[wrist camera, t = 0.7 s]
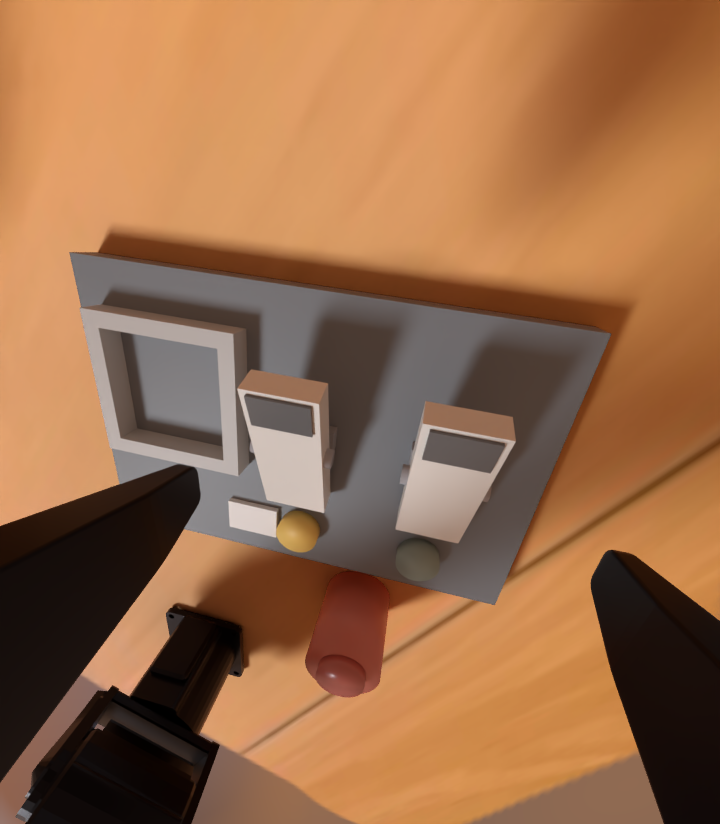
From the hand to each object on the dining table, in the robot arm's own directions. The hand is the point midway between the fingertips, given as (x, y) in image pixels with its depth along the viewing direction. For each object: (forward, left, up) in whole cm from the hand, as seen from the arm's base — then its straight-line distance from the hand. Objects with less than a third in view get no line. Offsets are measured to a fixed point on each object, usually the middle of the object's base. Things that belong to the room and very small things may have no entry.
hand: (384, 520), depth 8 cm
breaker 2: (-4, -2, -7) cm, 8 cm away
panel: (-5, +5, -11) cm, 13 cm away
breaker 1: (-4, +5, -7) cm, 9 cm away
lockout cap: (-17, +1, -11) cm, 20 cm away
